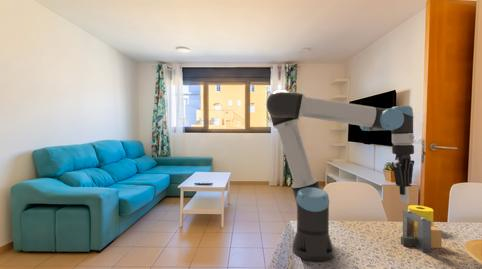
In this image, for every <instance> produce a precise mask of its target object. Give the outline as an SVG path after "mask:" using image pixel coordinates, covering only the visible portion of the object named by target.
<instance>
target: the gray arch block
mask: <svg viewBox="0 0 482 269" xmlns="http://www.w3.org/2000/svg"><path fill="white" fill-rule="evenodd" d="M414 220H415V221H417V222H418V246H417V250H418V251H420V252H421V253H427V254H428V253H430V254H431V253H432V248H431V221H430V220H428V219H426V218H424V217H422V216H420V215H418V214H416V213H414V212H412V211H409V210H408V209H407V210H402V236H407V237H414Z"/></svg>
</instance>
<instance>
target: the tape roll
mask: <svg viewBox="0 0 482 269" xmlns="http://www.w3.org/2000/svg"><path fill="white" fill-rule="evenodd" d="M407 210H409V211H412V212H414V213H416V214H418V215H420V216H422V217H424V218H426V219H428V220H430V221H431V226H434V209H433V208H431V207H429V206H424V205H416V204H413V205H411V204H410V205H408V207H407ZM414 226H418V222H417V221H415V220H414Z"/></svg>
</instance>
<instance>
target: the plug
mask: <svg viewBox="0 0 482 269" xmlns="http://www.w3.org/2000/svg"><path fill="white" fill-rule="evenodd" d="M442 233H443V231H442V229H441V228H438V227H436V226H434V225H433V226H431V249H432V248H435V249H436V248H437V249H438V248H440V249H441V248H442V246H443V245H442V243H443V242H442V241H443V240H442V238H443V237H442V236H443V234H442ZM400 244H401V245H402V246H404V247H418V226H414V237H407V236H403V235H401V236H400Z"/></svg>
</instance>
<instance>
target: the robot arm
mask: <svg viewBox="0 0 482 269" xmlns="http://www.w3.org/2000/svg"><path fill="white" fill-rule="evenodd" d="M266 109H267V112H268V114H269V116H270V117H269V118H270V120H271V122H272V126H273V128H274V129H276V130H277V132H278V134H279V138H280V142H281V144H282V147H283V151H284V155H285V158H286V161H287V164H288V167H289V170H290V174H291V178H292V180H293V182H292V185H290V187H291V189H292V194H293V196H294V199H295V205H296V232H295V235H294V237H293V241H292V245H291V247H292V248H291V249H292V253H293V254H294V255H295V256H296V257H298V258H299V259H302V260H305V261H309V262H313V263H314V262H316V263H317V262H318V263H319V262H328V261H330V260H332V259H333V258H334V256H335V254H334V251H335V250H334V247H333V243H332V240H331V236H330V232H329V228H330V227H329V226H330V225H329V224H330V221H329V220H330V219H329V218H330V217H329V216H330V215H329V213H330V210H329V209H330V207H329V206H330V199H329V198H330V197H329V194H328V192H327V191H326V190H324V189H321V187H320V183H319V180H318V178H315V177H314V176H313V173H312V169H311V165H310V163H309V159H308V156H307V153H306V149H305V146H304V143H303V139H302V136H301V134H300V129H299V126H298V122H299V120H300V118H303V117H304V118H310V119H316V120H323V121H328V122H336V123H340V124H341V123H342V124H347V125H348V124H349V125H353V126H354V125H356V126H359V128H360V129H361V131H365V132H367V131H368V132H370V131H371V132H373V131H375V132H376V131H391V143H392V145H391V149H392V150H391V153H392V155H393V154H394V155H395V157H394V158H395V161H394V162H391V166H392V169H393V170H392V171H393V174H394V181H395V185H396V187H399V202H400V203H404V204H409V203H410V199H409V197H410V196H409V195H410V193H409V190H410V188H409V187H412V184H413V183H412V182H413V172H414V165H415V160H412V157H411V155H414V154H415V146H414V145H413V144H414V142H415V141H414V139H415V136H414V118H415V117H414V112H413V107H412V106H411V105H400V106H399V105H398V106H392V107H390V108H382V107H374V106H370V105H363V104H356V103H347V102H342V101H335V100H328V99H321V98H315V97H309V96H306V95H305V94H304V93H300V92H295V91H290V90H285V89H278V90H275V91H273V92H271V94H270V95H269V96H268V98H267V99H266Z"/></svg>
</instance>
